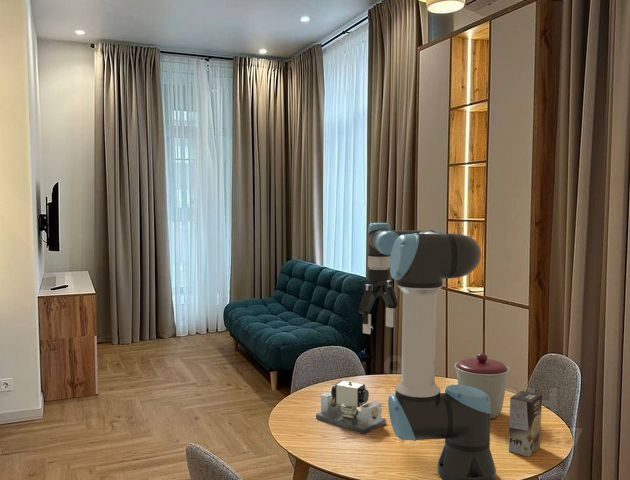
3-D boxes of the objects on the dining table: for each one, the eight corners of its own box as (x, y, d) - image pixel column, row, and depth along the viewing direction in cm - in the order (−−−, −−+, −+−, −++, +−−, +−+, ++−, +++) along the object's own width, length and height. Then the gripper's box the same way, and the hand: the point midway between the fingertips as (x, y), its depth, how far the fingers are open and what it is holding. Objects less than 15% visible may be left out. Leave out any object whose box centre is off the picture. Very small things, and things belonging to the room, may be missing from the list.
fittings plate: (386, 423, 196) (386, 401, 196) (363, 434, 188) (363, 410, 187) (338, 408, 210) (338, 388, 209) (315, 418, 201) (315, 396, 200)
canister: (490, 402, 216) (491, 345, 215) (519, 421, 199) (521, 358, 197) (444, 407, 212) (445, 348, 210) (470, 426, 194) (471, 362, 193)
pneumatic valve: (363, 422, 194) (363, 385, 193) (330, 415, 199) (330, 380, 198) (369, 416, 198) (370, 381, 198) (338, 410, 204) (338, 376, 203)
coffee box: (529, 457, 171) (531, 402, 170) (508, 451, 175) (509, 397, 174) (540, 447, 178) (542, 394, 177) (519, 441, 182) (521, 389, 181)
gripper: (390, 264, 215) (389, 322, 217) (347, 270, 197) (347, 334, 198) (408, 265, 211) (407, 325, 212) (366, 272, 192) (365, 338, 193)
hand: (378, 330), depth 205 cm, fingers open, 13 cm apart
